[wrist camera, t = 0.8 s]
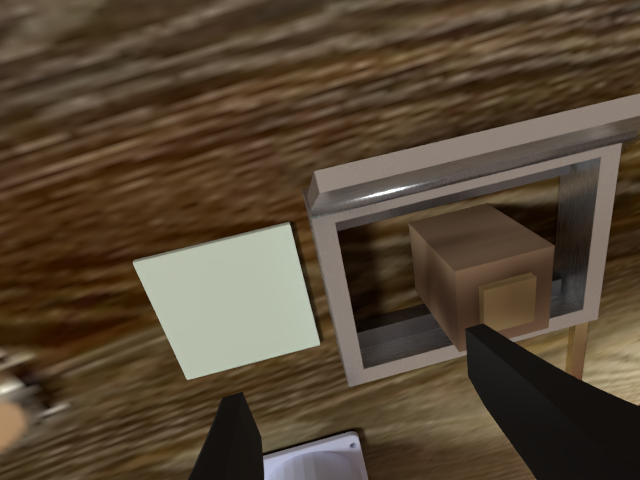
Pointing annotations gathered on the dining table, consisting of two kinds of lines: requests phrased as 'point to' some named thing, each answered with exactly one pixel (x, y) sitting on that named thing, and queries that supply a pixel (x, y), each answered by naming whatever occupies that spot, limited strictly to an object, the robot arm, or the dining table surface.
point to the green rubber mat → (231, 300)
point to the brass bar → (576, 349)
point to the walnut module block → (482, 272)
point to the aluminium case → (418, 322)
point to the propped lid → (474, 156)
